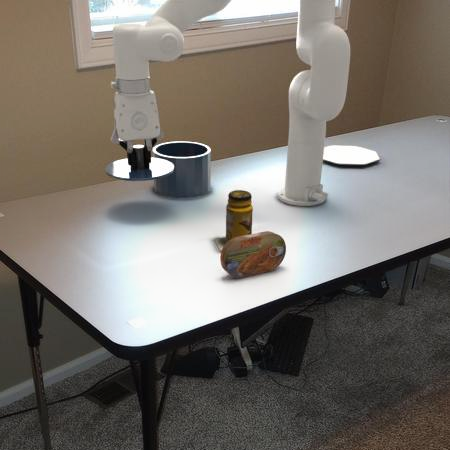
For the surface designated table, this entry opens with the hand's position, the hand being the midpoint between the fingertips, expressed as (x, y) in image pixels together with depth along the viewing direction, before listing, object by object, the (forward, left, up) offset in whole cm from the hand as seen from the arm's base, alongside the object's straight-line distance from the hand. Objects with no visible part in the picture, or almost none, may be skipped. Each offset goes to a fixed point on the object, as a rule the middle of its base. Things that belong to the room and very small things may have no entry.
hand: (139, 166), depth 160 cm
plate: (+4, -79, -12) cm, 80 cm away
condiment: (-29, -8, -12) cm, 32 cm away
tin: (-43, -2, -12) cm, 45 cm away
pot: (+9, -19, -12) cm, 24 cm away
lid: (0, 0, -1) cm, 1 cm away
